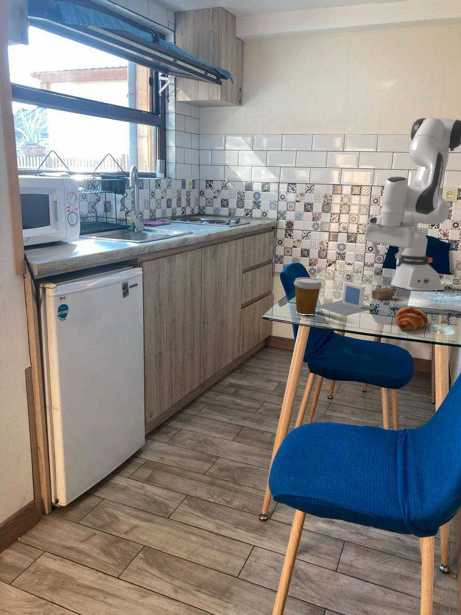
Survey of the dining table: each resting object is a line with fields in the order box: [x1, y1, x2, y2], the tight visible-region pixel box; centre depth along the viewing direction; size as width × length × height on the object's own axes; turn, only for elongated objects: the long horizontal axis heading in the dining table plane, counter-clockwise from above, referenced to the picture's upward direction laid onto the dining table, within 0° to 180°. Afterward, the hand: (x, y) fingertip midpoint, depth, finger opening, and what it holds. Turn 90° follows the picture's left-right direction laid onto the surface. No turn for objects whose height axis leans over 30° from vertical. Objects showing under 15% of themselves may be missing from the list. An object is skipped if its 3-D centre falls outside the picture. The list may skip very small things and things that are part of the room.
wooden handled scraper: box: [371, 287, 394, 301], centre depth 200 cm, size 7×18×4 cm, turn 130°
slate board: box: [316, 299, 376, 317], centre depth 186 cm, size 18×14×1 cm
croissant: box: [395, 306, 429, 331], centre depth 170 cm, size 21×10×8 cm, turn 149°
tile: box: [342, 281, 366, 308], centre depth 187 cm, size 2×8×8 cm, turn 40°
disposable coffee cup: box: [293, 276, 323, 315], centre depth 176 cm, size 10×10×12 cm
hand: (386, 256), depth 198 cm, fingers open, 8 cm apart
